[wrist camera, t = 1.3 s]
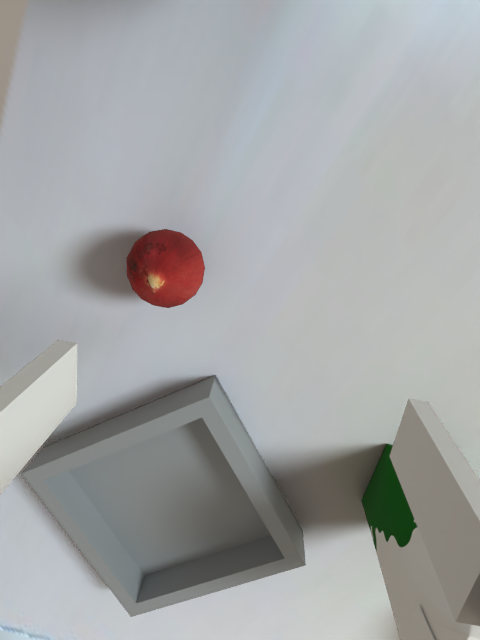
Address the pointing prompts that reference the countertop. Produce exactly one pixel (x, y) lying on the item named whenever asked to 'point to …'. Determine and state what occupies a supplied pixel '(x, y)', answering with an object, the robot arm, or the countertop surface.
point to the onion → (165, 268)
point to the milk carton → (407, 562)
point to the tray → (170, 500)
